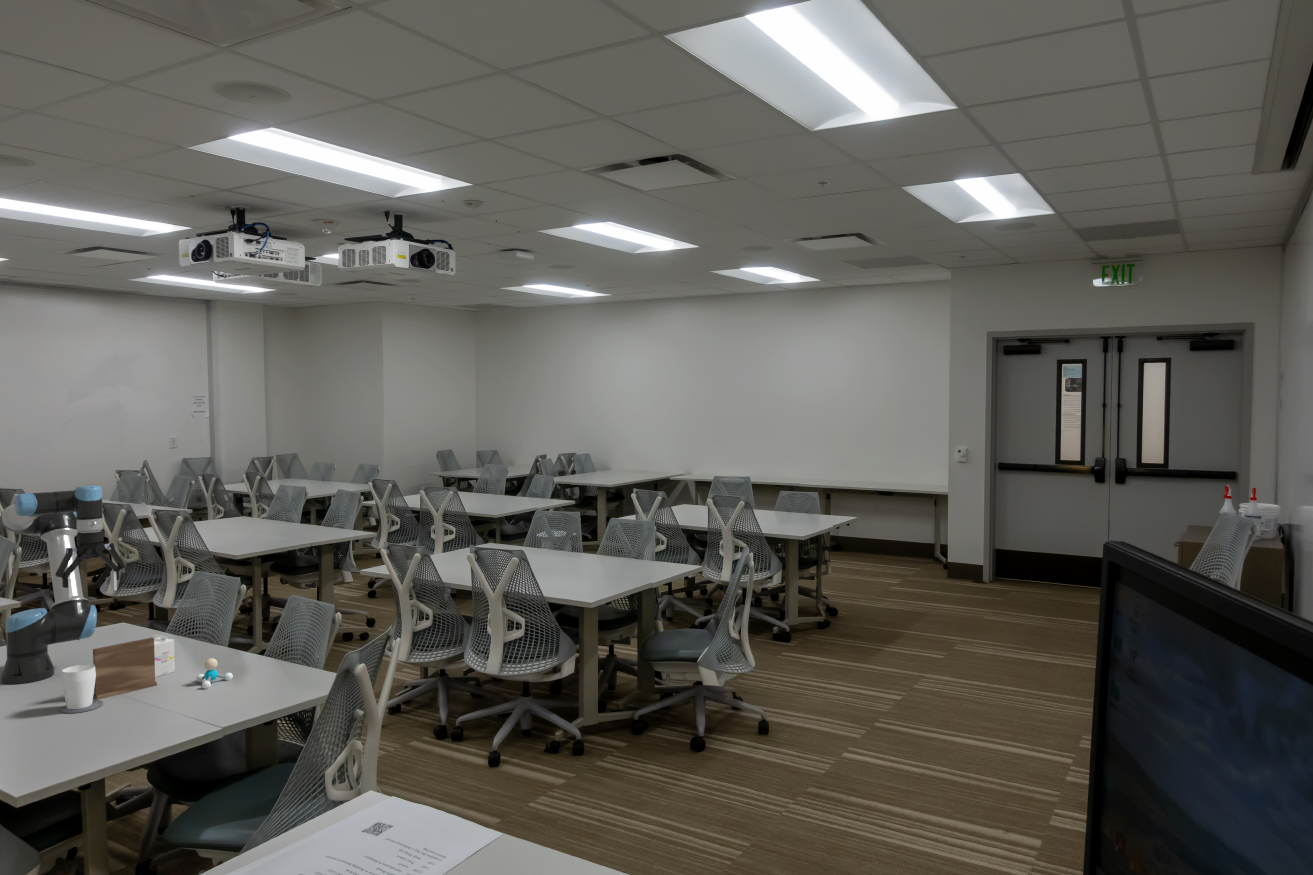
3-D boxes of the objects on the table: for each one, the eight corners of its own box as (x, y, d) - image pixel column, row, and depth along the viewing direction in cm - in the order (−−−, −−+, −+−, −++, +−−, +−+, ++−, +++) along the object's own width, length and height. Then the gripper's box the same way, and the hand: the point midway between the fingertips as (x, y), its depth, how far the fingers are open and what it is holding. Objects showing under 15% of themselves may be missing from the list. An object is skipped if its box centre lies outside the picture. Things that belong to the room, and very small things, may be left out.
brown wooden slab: (92, 697, 282) (91, 648, 281) (151, 682, 296) (150, 636, 295) (97, 699, 279) (96, 650, 279) (156, 685, 294) (155, 638, 293)
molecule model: (186, 684, 295) (186, 658, 295) (221, 675, 305) (220, 650, 304) (204, 690, 288) (203, 664, 288) (239, 681, 298) (238, 656, 297)
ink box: (137, 675, 305) (136, 637, 304) (158, 668, 313) (157, 632, 312) (154, 678, 302) (153, 640, 301) (175, 671, 309) (174, 634, 309)
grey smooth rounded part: (55, 708, 271) (55, 706, 271) (94, 699, 279) (94, 697, 279) (68, 715, 264) (68, 714, 264) (108, 705, 273) (108, 704, 273)
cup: (79, 711, 266) (78, 673, 266) (54, 709, 268) (53, 671, 267) (103, 702, 275) (102, 664, 274) (79, 700, 277) (79, 663, 276)
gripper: (51, 536, 279) (53, 601, 280) (134, 527, 299) (136, 588, 300) (42, 534, 284) (44, 598, 285) (125, 526, 304) (127, 585, 304)
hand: (91, 593), depth 292 cm, fingers open, 13 cm apart
